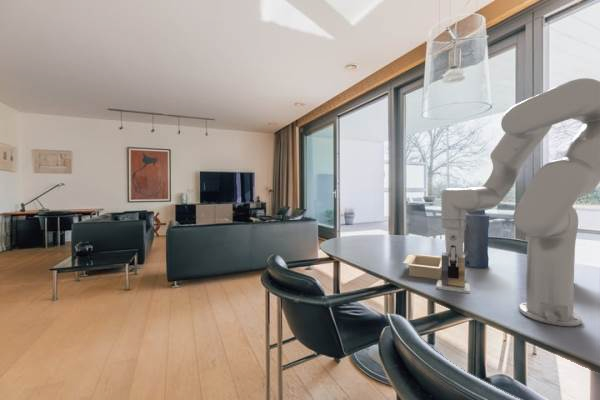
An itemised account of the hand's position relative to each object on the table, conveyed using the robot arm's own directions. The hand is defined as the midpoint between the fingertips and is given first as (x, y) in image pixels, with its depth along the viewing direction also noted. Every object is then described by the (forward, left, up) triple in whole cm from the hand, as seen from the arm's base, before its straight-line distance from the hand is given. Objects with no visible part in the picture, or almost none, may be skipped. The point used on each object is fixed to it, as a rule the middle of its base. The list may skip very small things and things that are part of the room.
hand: (453, 275), depth 98 cm
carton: (+15, +10, -4) cm, 19 cm away
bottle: (+35, -8, -4) cm, 36 cm away
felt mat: (0, 0, -4) cm, 4 cm away
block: (0, 0, -3) cm, 3 cm away
